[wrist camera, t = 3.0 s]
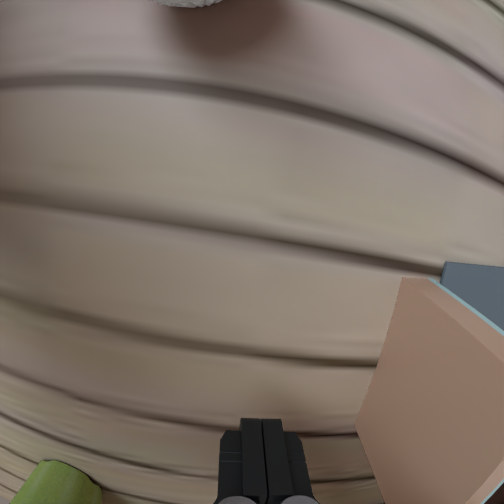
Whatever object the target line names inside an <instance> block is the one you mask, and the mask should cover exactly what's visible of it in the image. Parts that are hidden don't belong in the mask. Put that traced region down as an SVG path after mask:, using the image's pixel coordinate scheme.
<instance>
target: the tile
mask: <svg viewBox="0 0 504 504" xmlns="http://www.w3.org/2000/svg"><path fill="white" fill-rule="evenodd" d="M354 426H355V428H356V431H357V433H358V436H359V438H360V440H361V443H362V445H363V448H364V451H365V453H366V456H367V458H368V461H369V463H370V466H371V468H372V471H373V473H374V476H375V478H376V481H377V484H378V486H379V489H380V491H381V494H382V497H383V499H384V502H385V504H484V503H485V502H486V501H487V500H488V499H489V498H490V497H491V496H492V495H493V493H494V492H495V491H496V490H497V489H498V488H499V487H500V486H501V485H502V484H503V483H504V331H503V330H502V329H501V328H499V327H498V326H497V325H495V324H494V323H493V322H492V321H490V320H489V319H488V318H486V317H485V316H484V315H482V314H481V313H480V312H478V311H477V310H476V309H474V308H473V307H472V306H470V305H469V304H467V303H466V302H465V301H463V300H462V299H461V298H459V297H458V296H456V295H455V294H454V293H452V292H451V291H450V290H448V289H447V288H445V287H444V286H442V285H441V284H440V283H438V282H437V281H435V280H434V279H424V278H407V277H402V281H401V285H400V289H399V293H398V297H397V301H396V304H395V308H394V312H393V315H392V319H391V322H390V326H389V329H388V332H387V336H386V339H385V342H384V345H383V349H382V352H381V355H380V358H379V361H378V364H377V367H376V370H375V372H374V375H373V378H372V381H371V384H370V386H369V389H368V392H367V394H366V397H365V400H364V402H363V405H362V407H361V410H360V412H359V415H358V417H357V420H356V422H355V424H354Z"/></svg>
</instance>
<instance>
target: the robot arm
mask: <svg viewBox="0 0 504 504" xmlns="http://www.w3.org/2000/svg"><path fill="white" fill-rule="evenodd" d="M305 461H306V460H305V456H304V451H303V446H302V442H301V440H300V439H299V438H298V436H297V435H296V434H295V432H283V427H282V421H281V419H261V420H260V419H254V418H241V420H240V428H239V431H231V430H226V432H225V433H224V435H223V437H222V438H221V440H220V454H219V475H218V496H217V499H216V501H215V502H214V503H213V504H320V503H319V502H318V501H317V500H316V499H315V498H314V496H313V493H312V489H311V484H310V479H309V475H308V470H307V465H306V463H305Z"/></svg>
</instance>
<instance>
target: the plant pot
mask: <svg viewBox="0 0 504 504" xmlns="http://www.w3.org/2000/svg"><path fill="white" fill-rule="evenodd" d="M101 499H102V491H101V489H100V487H99V486H98V485H95V484H93V483H92V482H91V480H90V479H89V478H88V476H87V475H85V474H84V473H83V472H81V471H79V470H78V469H75V468H73V467H71V466H69V465H67V464H65V463H62V462H59V461H55V460H52V461H44V460H42V461H41V462H40V463H39V464H38V466H37V467H36V468H35V470H34V471H33V472H32V474H31V475H30V477H29V478H28V479H27V481H26V482H25V484H24V485H23V486H22V488H21V489H20V490H19V492H18V493H17V494H16V496H15V497H14V498H13V500H12V501H11V502H10V504H101Z"/></svg>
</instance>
